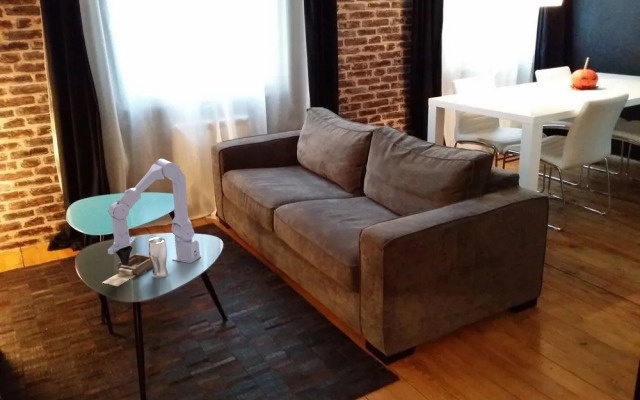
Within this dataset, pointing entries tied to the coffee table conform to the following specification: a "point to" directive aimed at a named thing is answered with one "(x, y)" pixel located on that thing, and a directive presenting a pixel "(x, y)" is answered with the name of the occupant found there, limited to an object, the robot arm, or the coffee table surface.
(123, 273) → the lid
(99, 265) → the coffee table surface
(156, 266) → the beer glass
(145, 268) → the box
